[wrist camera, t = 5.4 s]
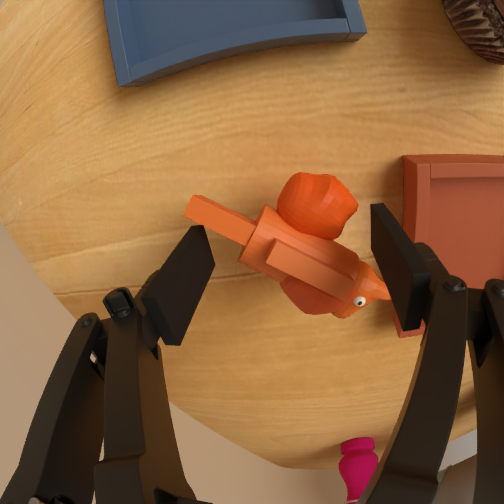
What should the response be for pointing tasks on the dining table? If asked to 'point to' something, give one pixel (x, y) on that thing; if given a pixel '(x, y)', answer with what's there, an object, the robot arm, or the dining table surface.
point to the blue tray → (217, 31)
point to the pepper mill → (357, 466)
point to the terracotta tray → (456, 215)
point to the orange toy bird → (301, 244)
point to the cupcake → (479, 26)
